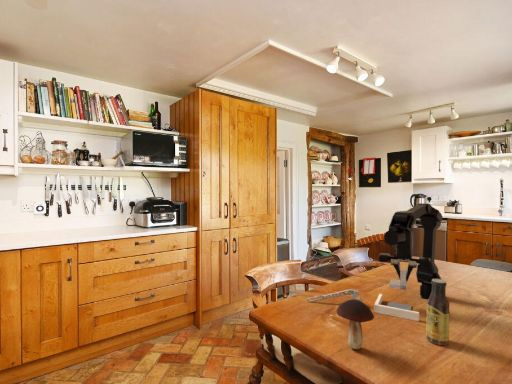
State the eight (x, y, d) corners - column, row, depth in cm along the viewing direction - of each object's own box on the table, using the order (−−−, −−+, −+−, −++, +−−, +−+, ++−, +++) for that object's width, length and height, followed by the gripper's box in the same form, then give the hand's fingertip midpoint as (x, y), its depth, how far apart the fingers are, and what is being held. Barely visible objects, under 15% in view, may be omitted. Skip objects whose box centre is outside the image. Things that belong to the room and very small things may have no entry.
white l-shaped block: (419, 307, 118) (419, 300, 118) (418, 321, 105) (418, 313, 105) (379, 300, 126) (379, 293, 126) (374, 312, 113) (374, 304, 113)
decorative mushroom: (381, 350, 86) (381, 301, 86) (359, 363, 79) (359, 310, 79) (350, 335, 95) (350, 291, 95) (328, 346, 88) (328, 298, 88)
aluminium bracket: (405, 290, 112) (405, 273, 112) (389, 287, 115) (389, 271, 115) (407, 284, 119) (407, 269, 119) (391, 282, 122) (391, 267, 122)
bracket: (363, 302, 119) (352, 280, 120) (317, 321, 122) (306, 299, 123) (362, 299, 122) (351, 278, 123) (316, 317, 125) (306, 297, 126)
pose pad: (411, 306, 119) (411, 305, 119) (410, 316, 109) (410, 315, 109) (388, 302, 124) (388, 301, 124) (384, 311, 114) (384, 310, 114)
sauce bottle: (421, 336, 94) (421, 277, 94) (439, 336, 94) (439, 276, 95) (435, 347, 87) (435, 283, 87) (454, 346, 88) (454, 283, 88)
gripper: (430, 241, 118) (430, 279, 118) (381, 238, 127) (381, 272, 127) (430, 246, 108) (430, 286, 108) (378, 241, 118) (378, 279, 118)
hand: (403, 280), depth 116 cm, fingers closed on aluminium bracket
